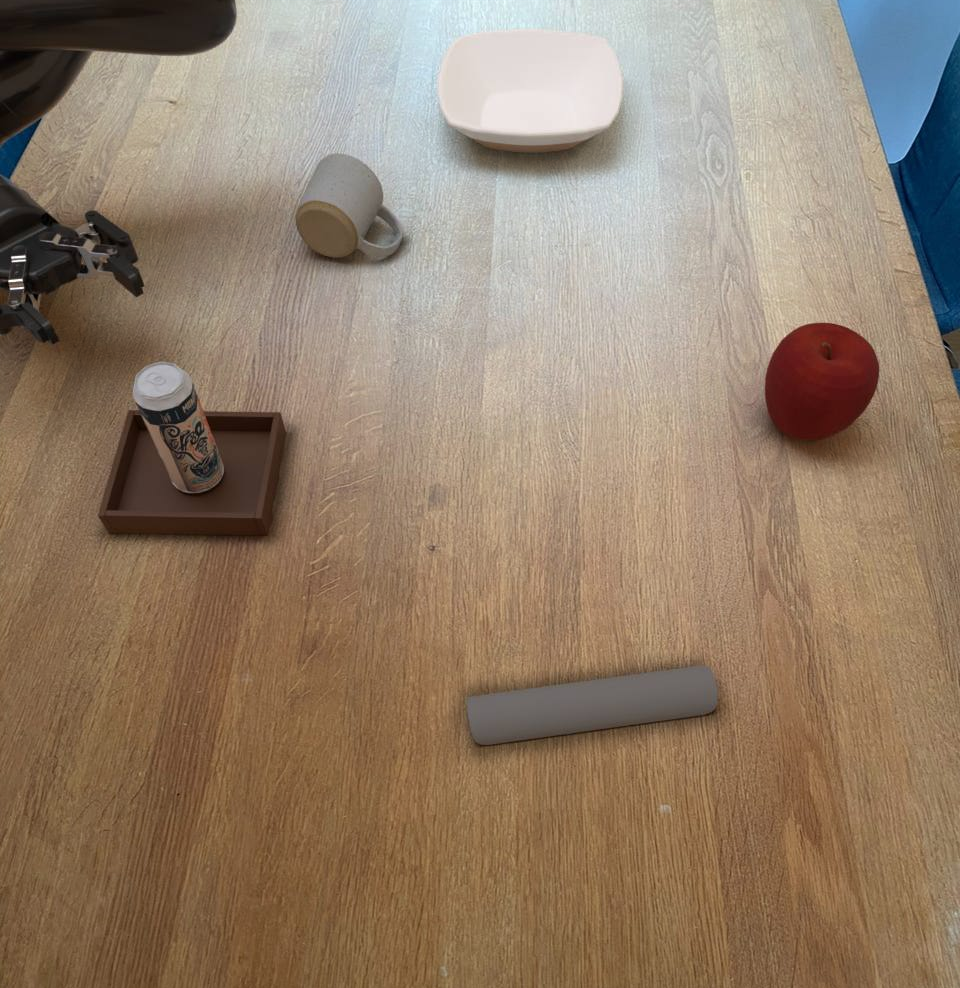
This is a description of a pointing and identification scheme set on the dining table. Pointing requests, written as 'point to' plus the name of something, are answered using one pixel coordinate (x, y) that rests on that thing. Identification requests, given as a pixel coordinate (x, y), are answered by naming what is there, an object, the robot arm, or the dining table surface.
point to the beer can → (178, 427)
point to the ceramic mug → (343, 209)
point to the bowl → (530, 88)
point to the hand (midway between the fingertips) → (95, 311)
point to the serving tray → (218, 511)
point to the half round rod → (592, 705)
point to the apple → (820, 380)
